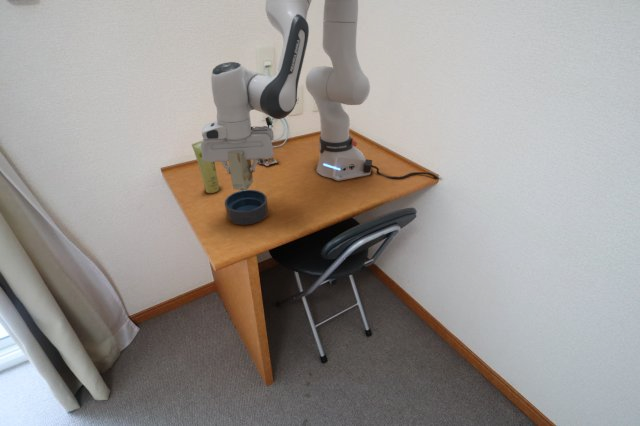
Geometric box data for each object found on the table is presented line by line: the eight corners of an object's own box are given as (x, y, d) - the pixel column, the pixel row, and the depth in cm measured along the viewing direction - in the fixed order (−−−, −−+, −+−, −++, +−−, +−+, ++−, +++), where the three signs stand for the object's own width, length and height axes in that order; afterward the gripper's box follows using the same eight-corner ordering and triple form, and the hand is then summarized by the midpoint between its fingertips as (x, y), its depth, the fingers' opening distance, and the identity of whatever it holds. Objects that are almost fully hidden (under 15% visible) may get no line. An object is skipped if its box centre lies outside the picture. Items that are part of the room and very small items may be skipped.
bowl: (267, 201, 110) (265, 188, 107) (269, 223, 100) (267, 209, 97) (228, 205, 108) (225, 191, 105) (226, 228, 98) (223, 213, 94)
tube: (217, 194, 114) (207, 143, 103) (203, 194, 114) (191, 143, 103) (220, 186, 119) (211, 137, 107) (207, 186, 118) (196, 137, 107)
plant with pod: (270, 155, 142) (266, 110, 131) (280, 164, 134) (276, 118, 123) (253, 158, 139) (247, 113, 128) (262, 168, 131) (257, 121, 119)
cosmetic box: (246, 191, 95) (240, 153, 88) (232, 189, 95) (226, 152, 88) (253, 181, 100) (249, 145, 93) (241, 180, 101) (235, 143, 94)
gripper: (272, 122, 91) (275, 165, 99) (198, 125, 88) (207, 170, 96) (273, 129, 86) (276, 174, 94) (195, 133, 83) (205, 179, 91)
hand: (241, 172), depth 95 cm, fingers closed on cosmetic box, 5 cm apart
